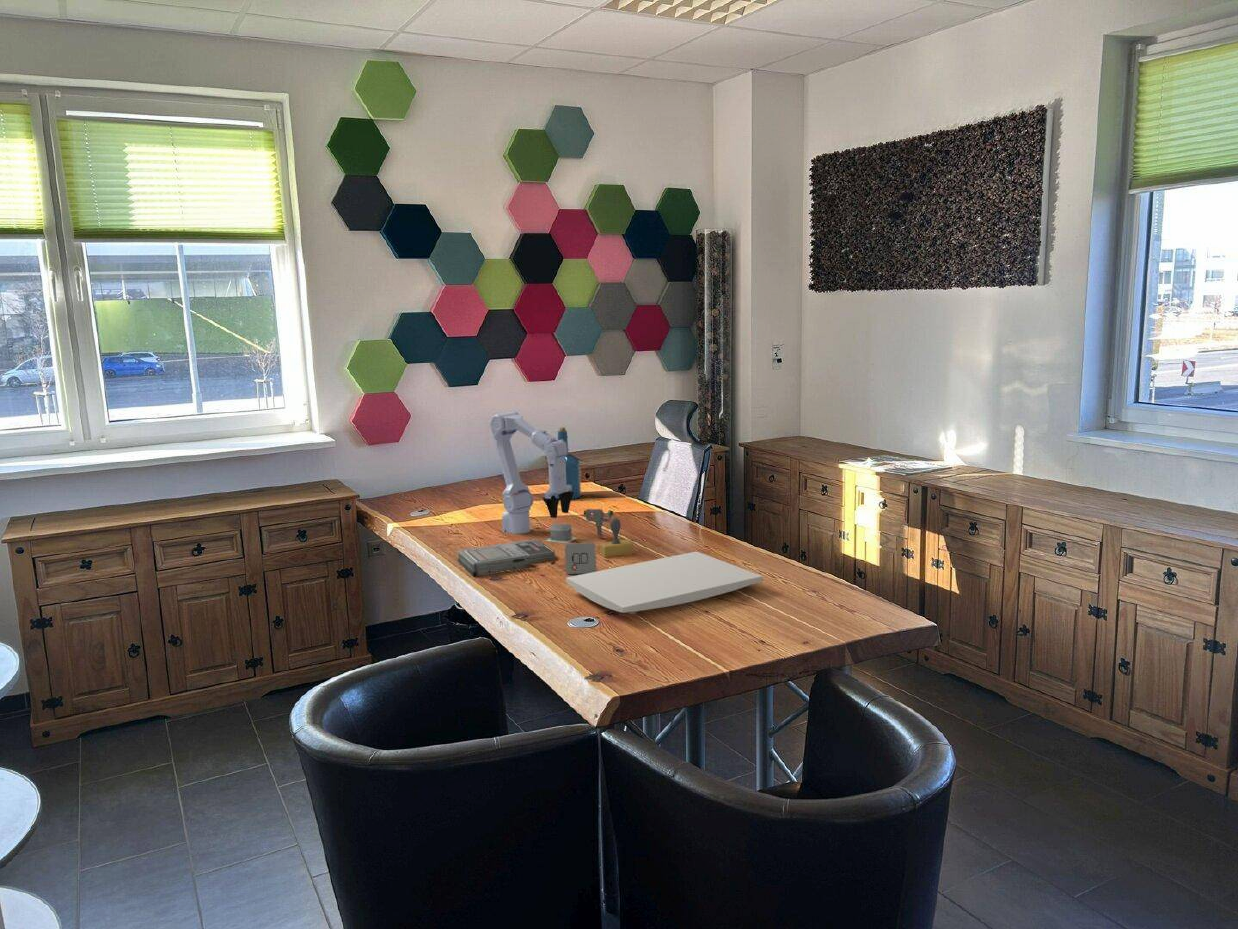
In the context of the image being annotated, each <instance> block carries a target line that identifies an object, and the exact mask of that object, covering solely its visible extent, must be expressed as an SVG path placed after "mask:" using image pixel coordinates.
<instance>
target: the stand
mask: <svg viewBox="0 0 1238 929" xmlns="http://www.w3.org/2000/svg"><path fill="white" fill-rule="evenodd" d="M576 539H578V537H573V536H572V539H570V540H568V541H556V540H551V537H549V538H547V539H545V540H544V542H550V543H551V542H553V543H562V544H569V543H571V542H573V541H574V540H575V541H576Z"/></svg>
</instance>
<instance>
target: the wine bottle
mask: <svg viewBox="0 0 1238 929" xmlns="http://www.w3.org/2000/svg"><path fill="white" fill-rule="evenodd" d="M568 437H569V436H568V431H567V430H566V427H564V426H563V427H561V426H559V427H558V430H557V438H556V440H564V441H565V442H566V443H567V445H568V446H569V443H568V439H569V438H568ZM565 463H566V485H572V490H571V492H574V495H573V497H572V499H571V501H572V500H576V499H578V498H580V497H581V496H582V489H581V468H580V467H581V466H580V465H581V464H580V461H579V459H578V457H576V456H575V455H574V454H572V453H569V451H568V454H567V455H566V456H565ZM547 464H548V463H547ZM548 468H549V464H548ZM548 482H549V483H548V485H549V486H548V487H550V481H549V480H548ZM555 497H556V498H559V496H558V495H556V496H555Z"/></svg>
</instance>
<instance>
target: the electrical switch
mask: <svg viewBox="0 0 1238 929" xmlns="http://www.w3.org/2000/svg"><path fill="white" fill-rule="evenodd" d="M596 548H597V547H596V543H595V542H577V543H576V542H575V543H573V542H572V543H571V542H570V543H565V545H564V555H565V556H564V557H565V560H564V561H565V573H566V575H582V574H587V573H592V572H597V557H596V555H597V554H596V553H597V551H596ZM574 567H575V569H574Z"/></svg>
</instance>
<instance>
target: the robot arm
mask: <svg viewBox="0 0 1238 929" xmlns="http://www.w3.org/2000/svg"><path fill="white" fill-rule="evenodd" d="M489 427H490V430H491V433H492V438H493V442H494V446H495V449H496V454H497V457H498V459H499V463H500V467H501V470H502V475H503V478H504V481H505V484H506V485H505V486H506V487H505V489H504V490H503V491H502V496H503V502H502V503H503V507H504V509H505V511H503V513H502V518H501V521H502V523H501V526H502V533H506V534H507V533H509V534H515V535H522V534H527V533H530V532H531V522H530V521H531V519H530V510H531V507H532V506H533V504H534V497H533V494H532V492H531V491H530V488H529V486H528V485H527V484H525V483H524V482H522V479H521V476H520V473H519V469H518V465H517V462H516V458H515V454H514V451H513V448H512V444H511V438H512V437H513V436H514V435H515V433H517V431H518V432H519V433H522V435H525V436H526V437H528V438H530V439H531V443H532V444H533V445H534V446H535V447H537V448H539V449H541V451H543V453H544V455H545V457H546V462H547V464H549V467H548V482H549V481H550V486H549V488H548V490H547V491H545V492H544V497H542V500H543V502H544V504H545V505H546V507H547V511H548V513H549V516H550V518H551V519H557V517H558V508H559V502H560V508H561V513H564V514H568V513H569V510H570V507H571V502H572V500H573V499H572V497H573V495H574V492H571V490H572V485H566V463H565V456H566V455H567V454H568V452H569V444H568V445H567V443H566V442H565V441H564V440H558V439H557V438H556V437H555V436H552V435H550V434H549V433H548V432H547V430H545V429H536V428H535V427H534V426H533V425H531V423H529V422H528V421H526V420H525V419H524V416H523V414H520V413H519V412H517V411H515V410H514V411H512V412H511V411H510V412H505V413H499V414H498V413H497V414H494V415H493V416H492V417H491V420H490V422H489ZM556 495H558V496H559V498H556V497H555V496H556ZM571 499H572V500H571Z"/></svg>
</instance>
